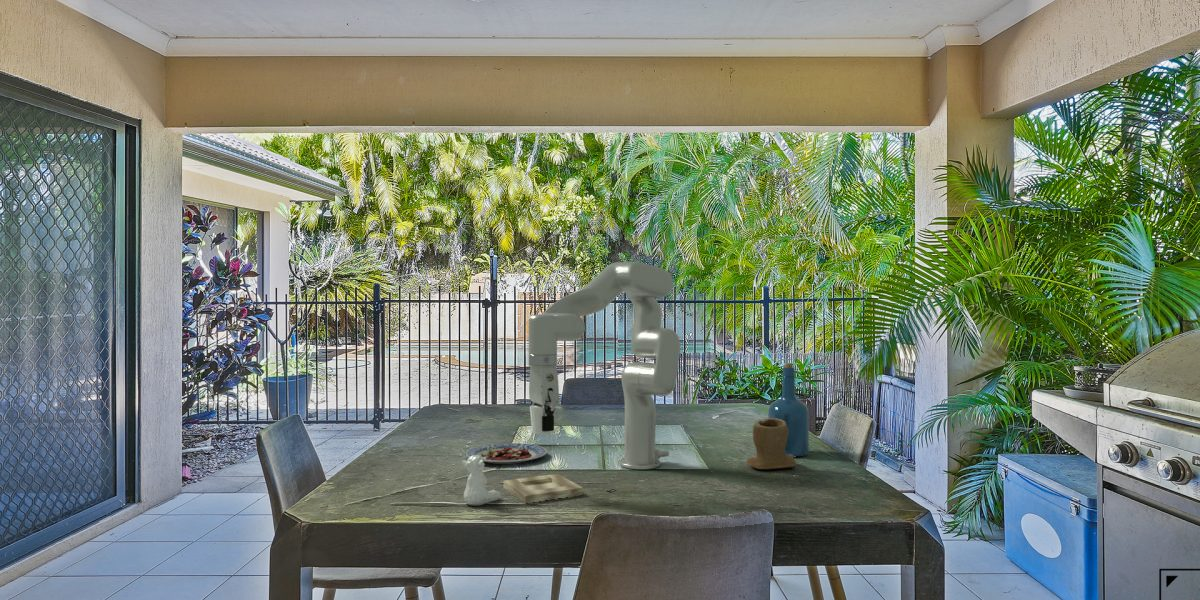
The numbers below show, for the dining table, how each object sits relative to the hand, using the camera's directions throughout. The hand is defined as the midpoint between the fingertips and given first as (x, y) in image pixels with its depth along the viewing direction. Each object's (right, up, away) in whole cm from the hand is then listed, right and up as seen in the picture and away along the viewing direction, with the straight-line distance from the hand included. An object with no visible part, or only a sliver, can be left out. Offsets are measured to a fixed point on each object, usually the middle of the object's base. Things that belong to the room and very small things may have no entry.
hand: (542, 428), depth 180 cm
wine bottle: (+78, -17, +45) cm, 92 cm away
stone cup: (+68, -17, +26) cm, 74 cm away
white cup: (0, -1, 0) cm, 1 cm away
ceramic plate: (-15, -17, +39) cm, 45 cm away
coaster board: (0, -17, 0) cm, 17 cm away
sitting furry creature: (-16, -17, -9) cm, 25 cm away
